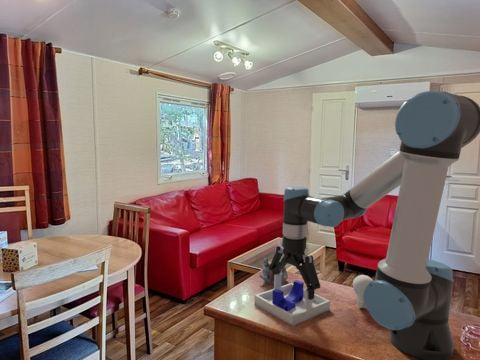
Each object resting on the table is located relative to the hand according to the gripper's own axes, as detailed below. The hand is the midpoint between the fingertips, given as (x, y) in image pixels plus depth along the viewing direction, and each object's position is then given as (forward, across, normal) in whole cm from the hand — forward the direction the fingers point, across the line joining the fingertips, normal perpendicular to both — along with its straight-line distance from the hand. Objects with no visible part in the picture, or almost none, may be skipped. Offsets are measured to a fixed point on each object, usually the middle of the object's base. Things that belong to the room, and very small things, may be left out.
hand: (292, 300), depth 114 cm
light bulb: (+2, -14, -18) cm, 23 cm away
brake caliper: (+3, +19, -10) cm, 21 cm away
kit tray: (+2, 0, 0) cm, 2 cm away
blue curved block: (+2, 0, +1) cm, 2 cm away
